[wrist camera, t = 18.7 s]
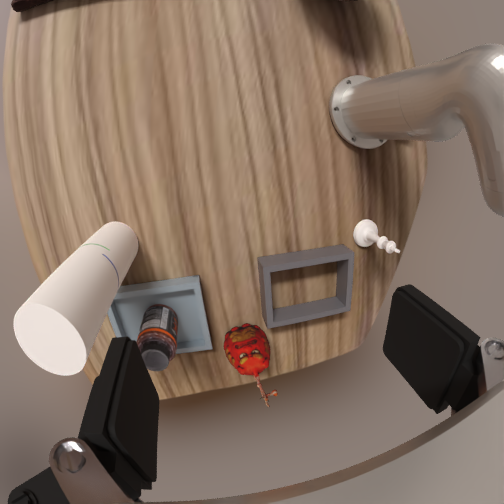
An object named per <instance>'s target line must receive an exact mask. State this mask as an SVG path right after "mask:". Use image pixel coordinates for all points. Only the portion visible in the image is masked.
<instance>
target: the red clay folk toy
mask: <svg viewBox="0 0 504 504" xmlns="http://www.w3.org/2000/svg"><path fill="white" fill-rule="evenodd" d="M224 350H225V353H226V357H227V358H228V360H229V362H230V363H231V364H232V365H233V366H234V367H235V368H236V369H237V370H238V372H239V373H240V374H241V375H253V376H254V378H255V379H256V381H257V382H258V384H257V387H258V388H260V391H261V394H262V396H263V398H260V399H264V400H265V403H266V405H267V407H269V405H268V404H267V401H268V402H269V400H268V396H269V395H274V396H277V390H273V391H272V392H271V393H269V394H265V392H264V391H263V388H262V384H261V383H260V379H259V373H261V372H262V371H263V370H265V368H268V366H269V360H270V345H269V342H268V340H267V337H266V334H265V333H264V332H263V331H262V330H261V329H260V327H258V326H257V325H250V324H248V323H247V324H244V325H242V326H241V327H234V328H232V329H231V330H230V331H229V332H227V333H226V335H225V342H224Z"/></svg>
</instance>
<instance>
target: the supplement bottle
mask: <svg viewBox="0 0 504 504" xmlns="http://www.w3.org/2000/svg"><path fill="white" fill-rule="evenodd" d="M177 332H178V318H177V315H176V313H175V311H174V310H173V309H172V308H170V307H169V306H166V305H163V304H155V305H152V306H150V307H149V308H147V310H146V311H145V313H144V315H143V319H142V322H141V326H140V330H139V334H138V338H137V345H138V347H139V350H140V353H141V355H142V358H143V360H144V363H145V365H146V368H147V369H149V370H152V371H161V370H164V369H165V368H167V366H168V364H169V361H171V360H172V359H173V358H174V356H175V354H176V349H177Z"/></svg>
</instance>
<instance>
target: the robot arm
mask: <svg viewBox="0 0 504 504" xmlns="http://www.w3.org/2000/svg"><path fill="white" fill-rule="evenodd" d="M334 109H335V111H334ZM329 110H330V116H331V120H332V122H333V125H334V127H335V128H336V130H337V132H338V133H339V134H340V135H341V137H342V138H343V139H344V140H346V141H347V142H348V143H350V144H352V145H353V146H356V147H359V148H365V149H372V148H376V147H379V146H381V145H383V144H384V143H385V142H386V141H387V140H415V141H434V142H441V141H442V142H443V141H447V140H449V139H452V138H453V137H455V136H456V135H458V134H459V133H460V132H461V131H462V129H463V128H464V127H465V129H466V132H467V135H468V138H469V141H470V143H471V146H472V150H473V154H474V159H475V163H476V167H477V172H478V176H479V181H480V186H481V190H482V194H483V197H484V200H485V202H486V204H487V205H488V207H489V208H490V209H491V210H492V211H493V212H495V213H496V214H498V215H500V216H502V217H504V46H503V45H500V44H484V45H480V46H476V47H473V48H471V49H468V50H465V51H463V52H461V53H458V54H456V55H454V56H451V57H448V58H446V59H443V60H440V61H436V62H433V63H429V64H425V65H422V66H417V67H413V68H410V69H406V70H402V71H398V72H395V73H391V74H388V75H384V76H381V77H378V78H374V79H371V78H369V77H365V76H360V75H355V76H350V77H347V78H345V79H343V80H342V81H340V82H339V83H338V84H337V85H336V86H335V88H334V89H333V91H332V94H331V97H330V102H329ZM479 339H480V337H479V336H478V335H477V334H475V333H474V332H473V331H472V330H471V329H469V328H468V327H467V326H465V325H464V324H463V323H462V322H460V321H459V320H458V319H456V318H455V317H454V316H453V315H451V314H450V313H449V312H447V311H446V310H445V309H443V308H442V307H441V306H440V305H438V304H437V303H436V302H434V301H433V300H432V299H430V298H429V297H428V296H426V295H425V294H424V293H422V292H421V291H419V290H418V289H416V288H415V287H414V286H412V285H405V286H402V287H398V288H397V289H396V291H395V292H394V294H393V296H392V302H391V308H390V314H389V320H388V325H387V330H386V335H385V340H384V344H383V352H384V354H385V356H386V357H387V358H388V359H389V361H390V362H391V363H392V364H393V365H394V366H395V368H396V369H397V370H398V371H399V372H400V374H401V375H402V376H403V377H404V378H405V380H406V381H407V382H408V383H409V384H410V386H411V387H412V388H413V389H414V390H415V392H416V393H417V394H418V395H419V396H420V398H421V399H422V400H423V401H424V403H425V404H426V405H427V406H428V407H429V408H430V409H433V410H434V411H435V412H436V414H438V413H440V412H442V411H443V410H445V409H446V408H447V407H448V405H450V406H451V407H452V408H451V417H449V418H448V419H446V420H445V421H443V422H441V423H440V424H438V425H436V426H435V427H433V428H431V429H430V430H428V431H426V432H424V433H422V434H421V435H419V436H417V437H415V438H413V439H411V440H409V441H407V442H406V443H404V444H402V445H400V446H398V447H396V448H393V449H391V450H389V451H387V452H385V453H383V454H380V455H378V456H376V457H374V458H371V459H369V460H366V461H364V462H362V463H359V464H356V465H354V466H351V467H349V468H346V469H343V470H340V471H337V472H335V473H332V474H329V475H325V476H322V477H319V478H316V479H313V480H309V481H305V482H302V483H298V484H294V485H290V486H287V487H283V488H278V489H273V490H268V491H263V492H259V493H252V494H247V495H240V496H233V497H226V498H217V499H207V500H196V501H178V502H146V503H145V502H143V501H142V500H141V499H140V498H139V497H140V496H141V489H149V490H151V489H152V482H155V481H156V478H157V435H158V416H159V397H158V393H157V391H156V389H155V387H154V384H153V382H152V380H151V377H150V375H149V373H148V370H147V368H146V365H145V363H144V360H143V358H142V355H141V353H140V350H139V347H138V345H137V342H136V341H135V340H131V339H130V337H128V336H127V337H116V338H112V340H111V343H110V346H109V348H108V351H107V354H106V357H105V360H104V363H103V366H102V369H101V372H100V375H99V376H98V377H96V379H95V381H94V384H93V387H92V390H91V393H90V396H89V400H88V403H87V407H86V410H85V414H84V417H83V421H82V424H81V428H80V432H79V436H78V438H73V437H72V438H65V439H62V440H60V441H59V442H57V443H56V444H55V445H54V446H53V448H52V449H51V451H50V454H49V464H50V467H49V468H47V469H46V470H44V471H42V472H41V473H39V474H38V475H36V476H34V477H33V478H31V479H29V480H28V481H26V482H25V483H23V484H21V485H20V486H18V487H16V488H15V489H14V490H12V492H11V493H10V495H9V498H8V504H504V341H503V340H500V339H497V338H488V339H485V340H484V341H483V342H482V344H481V346H480V347H479V346H478V345H477V344H478V341H479Z"/></svg>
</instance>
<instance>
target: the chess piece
mask: <svg viewBox="0 0 504 504" xmlns="http://www.w3.org/2000/svg"><path fill="white" fill-rule="evenodd" d="M353 236H354V240H355V242H356V244H358V245H359V246H362V247H368V246H370V245H372V244H373V243H374V242H375V243H377V246H378V248H380V249H385V250H386V252H387V253H389V254H390V253H393V252H394V251H395V252H397V253H400V250H398V249H396V244H395V242H394V241H388V239H387V238H386V237H385V236H382V237H379V236H378V229H377V226H376V224H375V223H374V222H373V221H371V220H368V219H365V220H362V221H360V222H359V223H358V224H357V225H356V227H355V229H354V234H353Z"/></svg>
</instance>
